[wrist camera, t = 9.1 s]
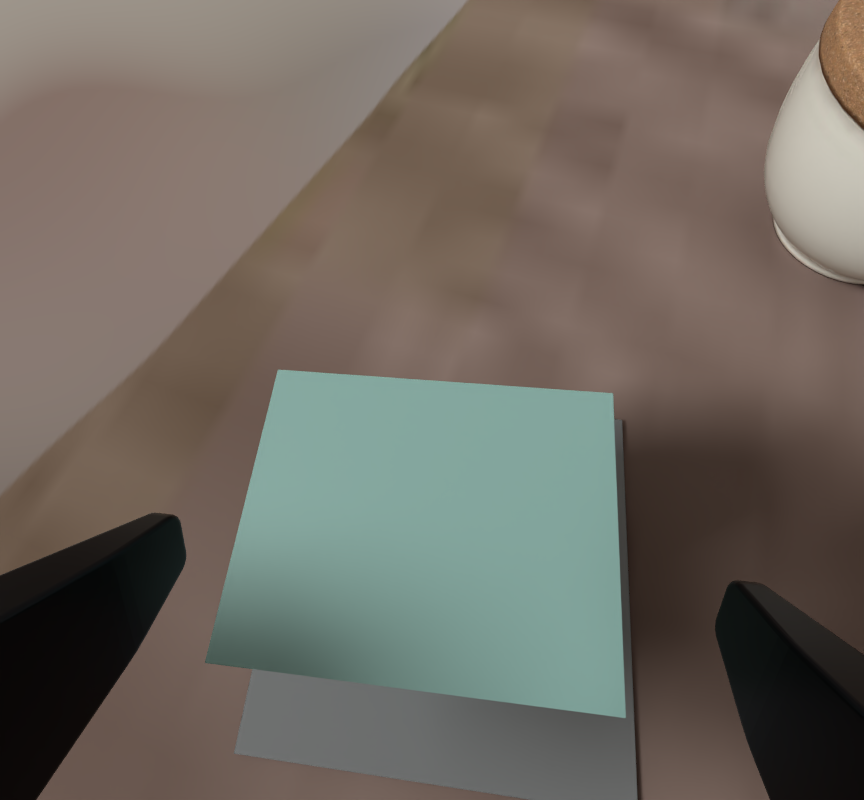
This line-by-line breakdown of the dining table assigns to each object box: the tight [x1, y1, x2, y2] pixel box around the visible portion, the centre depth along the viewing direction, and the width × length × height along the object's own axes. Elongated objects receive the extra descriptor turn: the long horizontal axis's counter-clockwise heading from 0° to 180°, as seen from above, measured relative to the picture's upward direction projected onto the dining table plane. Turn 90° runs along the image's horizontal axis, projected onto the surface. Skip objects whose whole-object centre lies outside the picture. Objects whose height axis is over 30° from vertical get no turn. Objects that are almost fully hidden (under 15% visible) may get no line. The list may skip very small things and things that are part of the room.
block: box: [205, 370, 626, 718], centre depth 12 cm, size 4×5×11 cm
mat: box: [234, 419, 637, 800], centre depth 17 cm, size 12×12×1 cm
